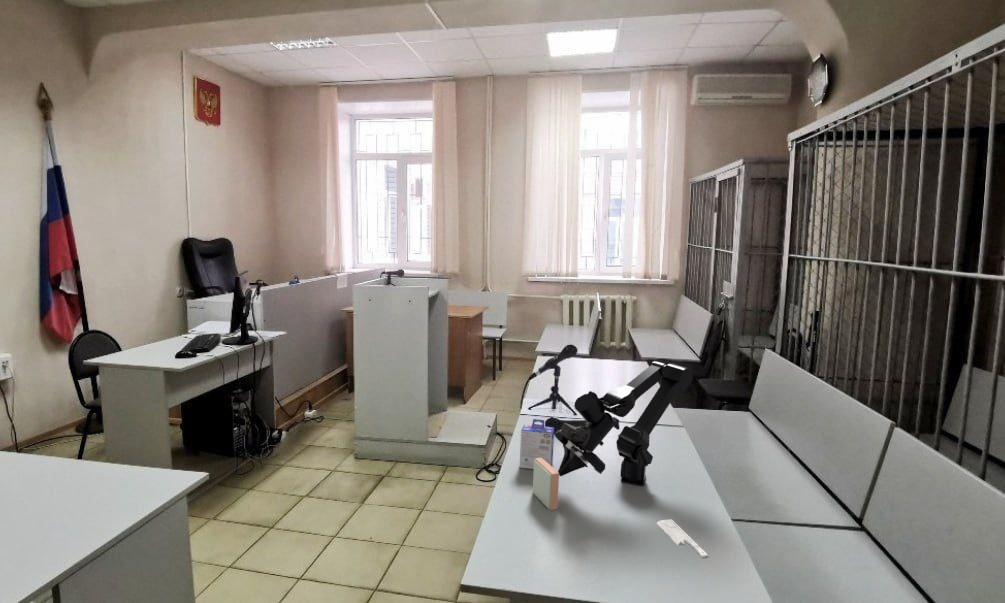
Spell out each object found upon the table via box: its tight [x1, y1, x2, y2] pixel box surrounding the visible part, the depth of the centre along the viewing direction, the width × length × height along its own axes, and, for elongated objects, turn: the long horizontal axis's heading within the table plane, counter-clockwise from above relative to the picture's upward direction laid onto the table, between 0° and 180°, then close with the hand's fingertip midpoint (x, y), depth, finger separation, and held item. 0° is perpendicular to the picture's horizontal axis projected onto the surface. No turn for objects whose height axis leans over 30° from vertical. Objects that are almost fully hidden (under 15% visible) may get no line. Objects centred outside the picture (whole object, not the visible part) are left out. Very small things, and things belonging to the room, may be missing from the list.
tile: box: [532, 457, 560, 511], centre depth 142 cm, size 2×10×10 cm, turn 23°
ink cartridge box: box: [518, 418, 555, 470], centre depth 162 cm, size 10×6×14 cm, turn 78°
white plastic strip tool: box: [656, 518, 709, 558], centre depth 127 cm, size 5×15×1 cm, turn 13°
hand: (558, 474), depth 143 cm, fingers closed
